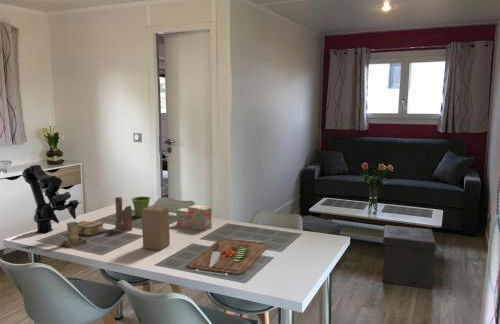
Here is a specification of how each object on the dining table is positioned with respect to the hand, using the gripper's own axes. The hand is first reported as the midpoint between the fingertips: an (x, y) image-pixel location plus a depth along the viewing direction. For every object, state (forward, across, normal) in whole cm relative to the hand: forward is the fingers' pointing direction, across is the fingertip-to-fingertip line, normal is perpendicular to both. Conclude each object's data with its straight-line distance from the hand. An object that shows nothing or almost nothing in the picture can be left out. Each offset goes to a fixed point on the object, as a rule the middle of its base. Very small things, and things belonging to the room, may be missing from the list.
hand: (67, 220), depth 215 cm
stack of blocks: (+32, +58, -15) cm, 68 cm away
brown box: (+3, +16, +13) cm, 21 cm away
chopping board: (+66, +33, -48) cm, 88 cm away
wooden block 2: (+11, +31, +5) cm, 33 cm away
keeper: (+11, 0, +5) cm, 12 cm away
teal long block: (+11, 0, +5) cm, 12 cm away
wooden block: (+39, +21, -22) cm, 50 cm away
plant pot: (+1, +56, +16) cm, 58 cm away
